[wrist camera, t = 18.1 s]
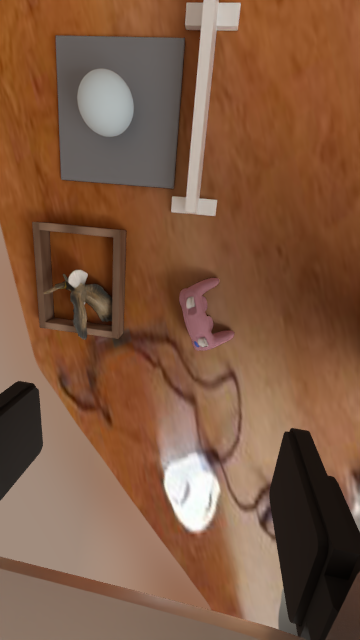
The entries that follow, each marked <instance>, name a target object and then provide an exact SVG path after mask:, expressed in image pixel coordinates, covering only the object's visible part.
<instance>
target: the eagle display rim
mask: <svg viewBox="0 0 360 640" xmlns="http://www.w3.org/2000/svg"><path fill="white" fill-rule="evenodd" d="M32 225H33V239H34V253H35V267H36V281H37V295H38V309H39V323H40V328H47V329H54V330H61V331H68V332H75V333H77V331H76V328H75V326H74V323H73V320H67V319H60V318H54V305H53V292H51V293H49V294H43V293H44V292H45V291H47V290H49V289H51V288H53V287H52V268H51V249H50V231H55V232H65V233H75V234H85V235H94V236H104V237H113V292H112V326H110V325H103V324H96V323H89V322H87V323H86V328H87V334H89V335H96V336H103V337H109V338H116V339H118V338H119V337H120V336H121V335H122V334H123V333H124V297H125V261H126V230H117V229H107V228H97V227H87V226H77V225H67V224H57V223H47V222H32Z"/></svg>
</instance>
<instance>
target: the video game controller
mask: <svg viewBox="0 0 360 640" xmlns="http://www.w3.org/2000/svg"><path fill="white" fill-rule="evenodd" d="M218 283H219V279H218V278H209V279H205V280H203V281H200V282H198V283H196V284H194V285H192V286H190V287H189V288H185V289H183V290H181V292H180V296H179V302H180V305H181V307H182V311H183V316H184V321H185V324H186V327H187V330H188V333H189V335H190V337H191V339H192V344H193V346H194V348H195V349H196V350H209V349H212V348H214V347H217V346H219V345H221V344H223V343H225V342H227V341H229V340H230V339H232V338H233V336H234V332H233V331H221V332H217V333H214V334H212V333H211V331H212V329H213V320H212V318H211V317H210V316H207V315H206V313H205V311H206V310H207V300H206V298H205V297H203V296H202V295H203V294H204V293H205V292H207V291H208V290H210V289H212V288H214V287H215V286H216V285H217V284H218Z"/></svg>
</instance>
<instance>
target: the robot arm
mask: <svg viewBox="0 0 360 640" xmlns="http://www.w3.org/2000/svg"><path fill="white" fill-rule="evenodd" d="M42 446H43V440H42V427H41V413H40V399H39V390H38V389H37V388H36V386H35V385H34V384H33V383H27V382H21V381H18V382H16V383H14V384H13V385H12V386H10V387H9V388H8V389H6V390H5V391H4V392H2V393H1V394H0V500H1V499H2V498H3V497H4V496H5V494H6V493H7V492H8V491H9V489H10V488H11V487H12V486H13V485H14V483H15V482H16V481H17V480H18V479H19V477H20V476H21V475H22V474H23V473H24V471H25V470H26V469H27V468H28V467H29V465H30V464H31V463H32V462H33V461H34V459H35V458H36V457H37V456H38V455H39V453H40V451H41V449H42ZM269 496H270V505H271V511H272V518H273V524H274V530H275V536H276V543H277V549H278V555H279V561H280V568H281V574H282V580H283V586H284V593H285V599H286V605H287V611H288V617H289V620H290V622H291V623H295V624H296V627H297V632H298V636H295V635H292V634H290V633H287V632H284V631H281V630H278V629H275V628H272V627H269V626H265V625H262V624H258V623H255V622H251V621H247V620H244V619H240V618H237V617H233V616H230V615H226V614H222V613H219V612H215V611H212V610H208V609H204V608H200V607H197V606H193V605H189V604H185V603H181V602H177V601H173V600H169V599H166V598H162V597H158V596H154V595H150V594H146V593H142V592H139V591H135V590H131V589H127V588H123V587H119V586H115V585H111V584H107V583H103V582H99V581H95V580H91V579H87V578H84V577H80V576H76V575H71V574H68V573H63V572H60V571H56V570H52V569H48V568H44V567H40V566H36V565H32V564H28V563H24V562H20V561H15V560H12V559H7V558H3V557H0V640H360V532H359V530H358V528H357V525H356V523H355V521H354V519H353V516H352V514H351V512H350V509H349V507H348V505H347V503H346V500H345V498H344V496H343V493H342V491H341V489H340V487H339V484H338V482H337V481H336V479H335V478H334V477H332V476H327V473H326V471H325V468H324V466H323V463H322V461H321V459H320V456H319V454H318V451H317V449H316V446H315V444H314V441H313V439H312V437H311V434H310V432H309V431H306V430H300V429H294V428H291V429H290V432H285V433H284V435H283V439H282V443H281V447H280V451H279V455H278V459H277V463H276V467H275V471H274V475H273V479H272V483H271V487H270V495H269Z"/></svg>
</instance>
